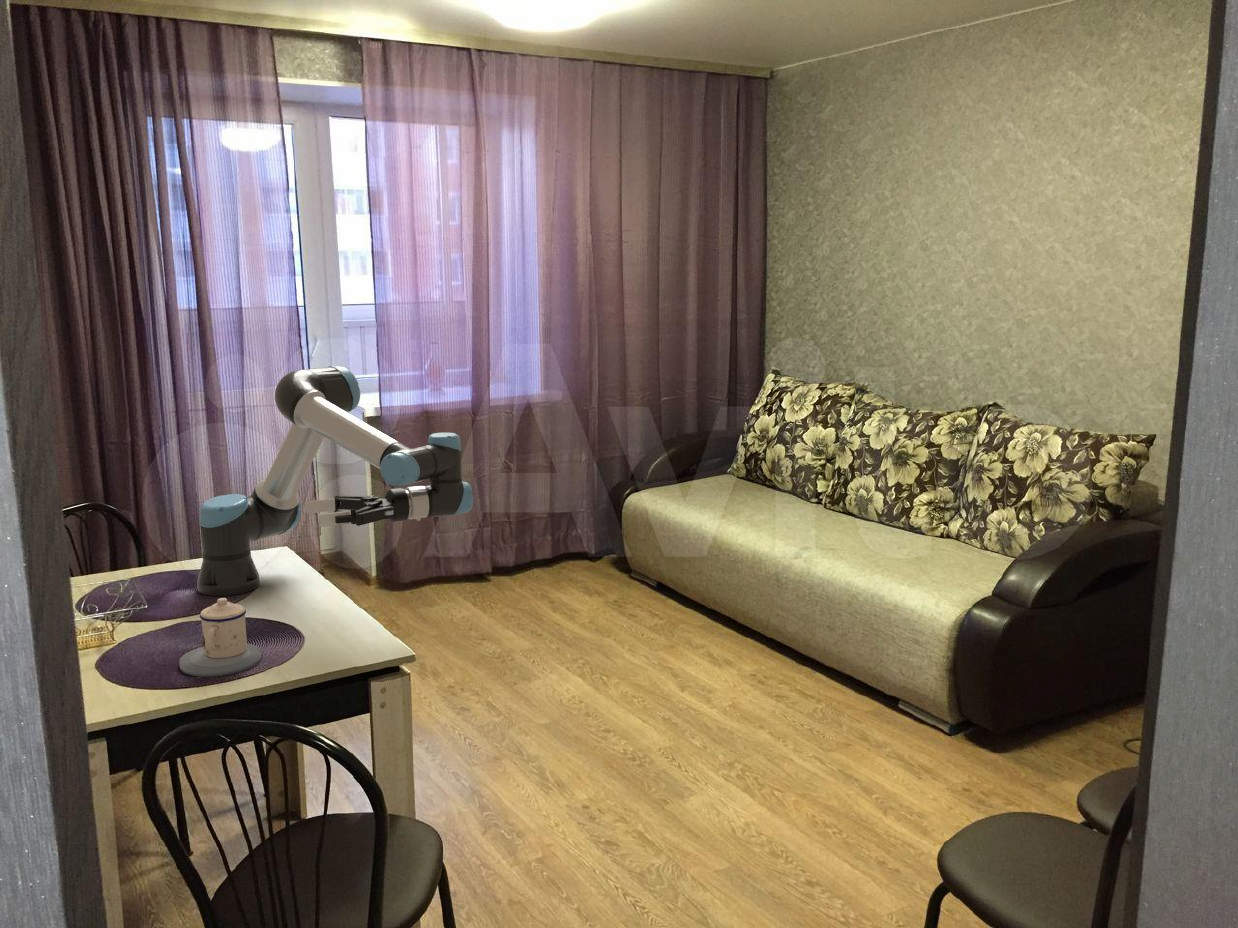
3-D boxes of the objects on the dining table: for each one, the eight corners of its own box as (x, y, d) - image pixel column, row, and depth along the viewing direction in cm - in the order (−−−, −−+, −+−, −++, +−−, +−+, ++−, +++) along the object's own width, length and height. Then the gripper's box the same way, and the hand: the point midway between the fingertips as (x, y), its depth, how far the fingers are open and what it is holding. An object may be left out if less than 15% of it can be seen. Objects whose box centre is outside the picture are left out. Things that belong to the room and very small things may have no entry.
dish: (175, 655, 219) (175, 649, 219) (254, 642, 227) (253, 637, 226) (184, 682, 205) (183, 676, 205) (267, 667, 213) (267, 661, 212)
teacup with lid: (213, 643, 223) (209, 591, 220) (255, 643, 222) (251, 592, 220) (189, 664, 211) (184, 610, 209) (232, 665, 211) (228, 611, 208)
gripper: (423, 532, 227) (326, 543, 217) (391, 508, 248) (301, 518, 238) (422, 498, 225) (324, 509, 215) (390, 478, 247) (299, 486, 237)
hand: (312, 513), depth 227 cm, fingers open, 13 cm apart
